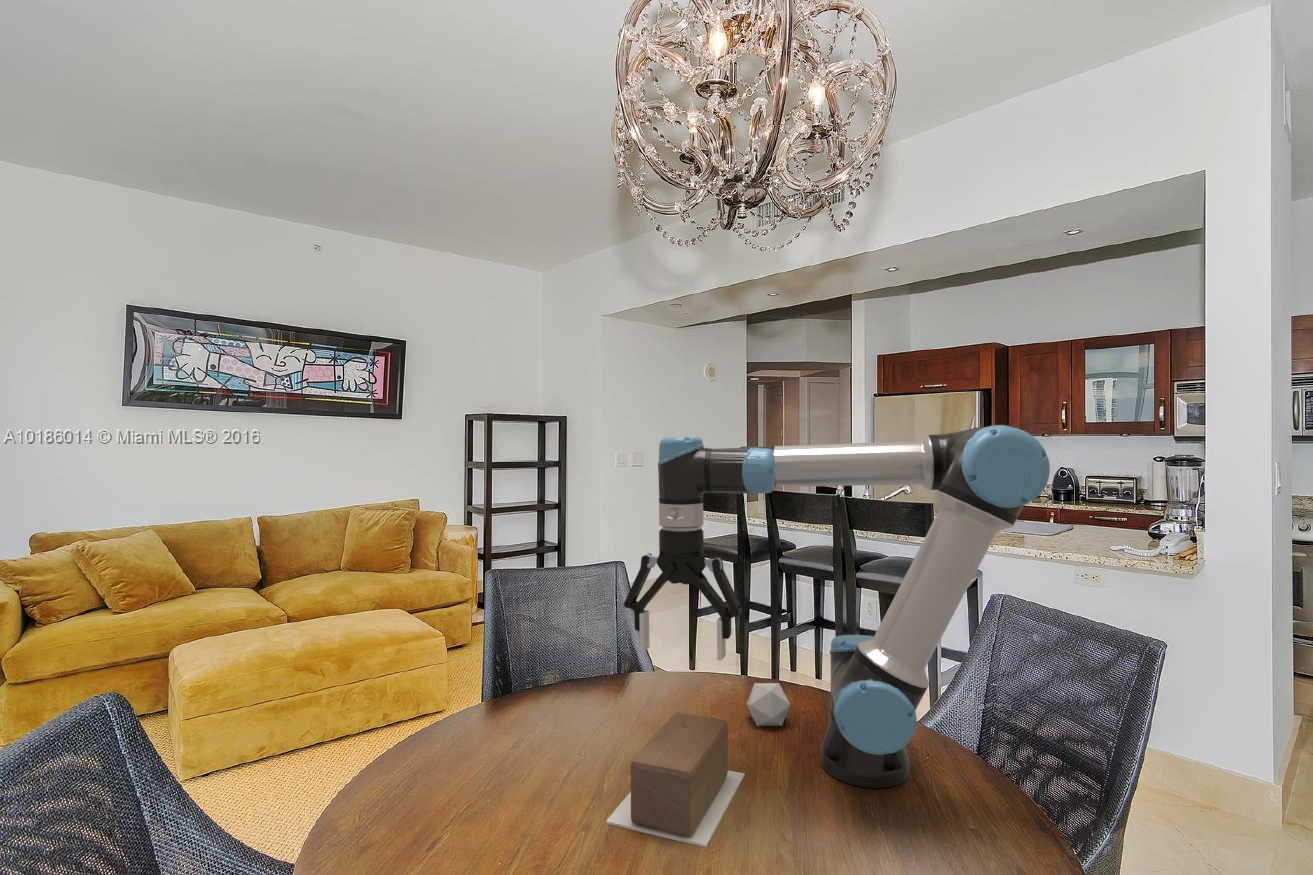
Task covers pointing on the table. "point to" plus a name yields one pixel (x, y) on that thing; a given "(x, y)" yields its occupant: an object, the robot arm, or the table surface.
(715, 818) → the white mat
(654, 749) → the wooden block
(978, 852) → the table surface
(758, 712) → the die
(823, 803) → the table surface
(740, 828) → the table surface
